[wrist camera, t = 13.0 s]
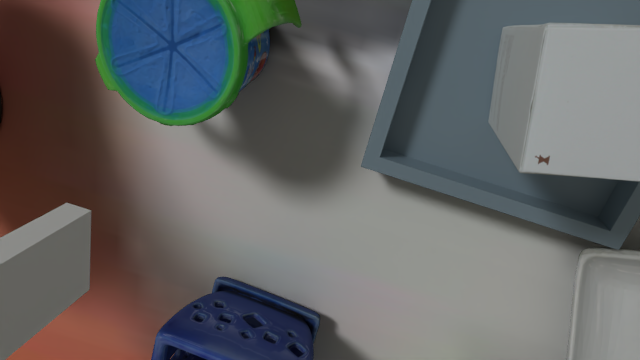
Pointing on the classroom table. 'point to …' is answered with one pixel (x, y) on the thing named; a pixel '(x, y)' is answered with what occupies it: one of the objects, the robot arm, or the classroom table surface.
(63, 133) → the classroom table surface
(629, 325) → the square plate
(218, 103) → the snack cup
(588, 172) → the supplement box
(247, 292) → the flower pot
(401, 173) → the tray
